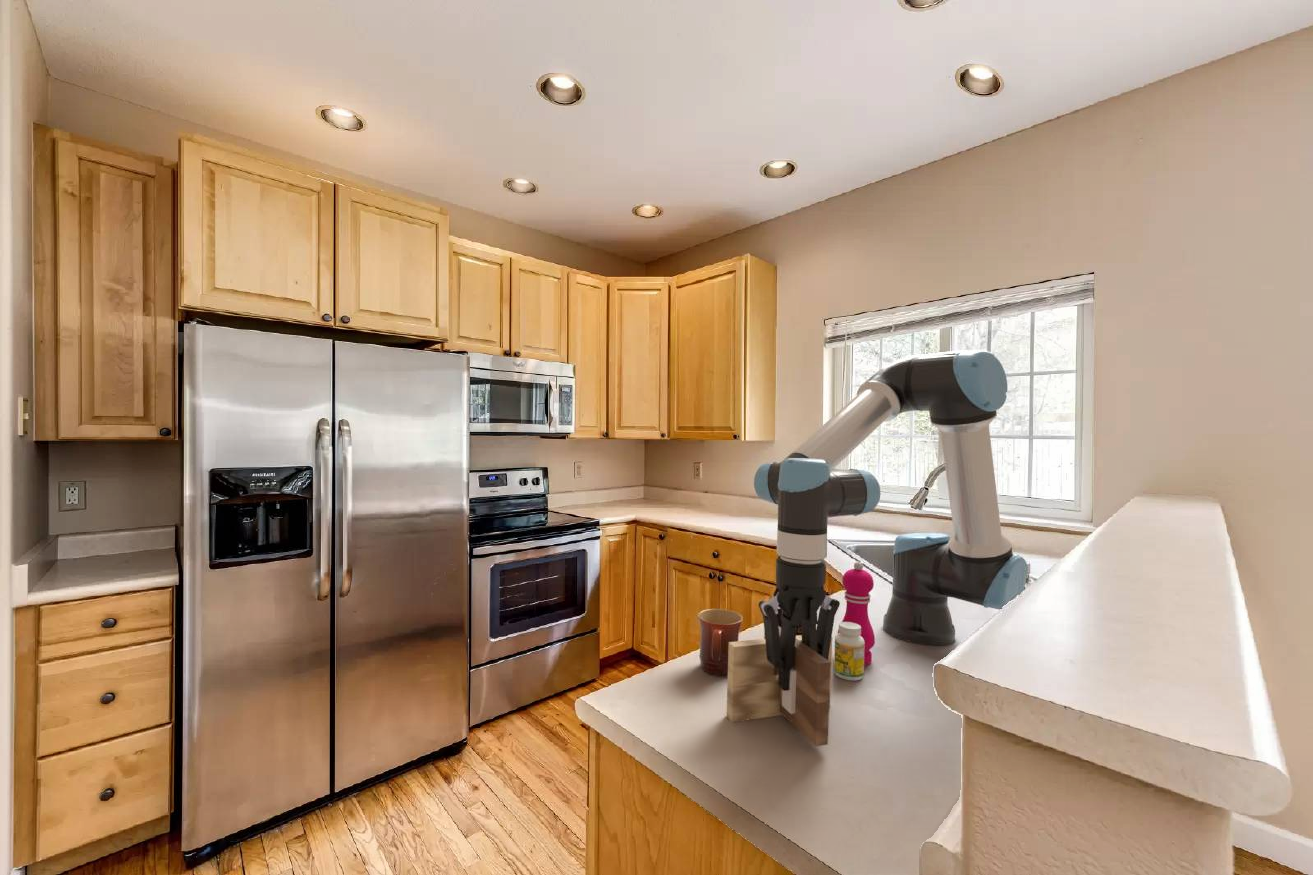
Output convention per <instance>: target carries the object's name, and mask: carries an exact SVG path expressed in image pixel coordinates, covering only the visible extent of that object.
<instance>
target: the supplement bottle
mask: <svg viewBox="0 0 1313 875" xmlns="http://www.w3.org/2000/svg"><path fill="white" fill-rule="evenodd" d="M838 629H839V632H840V633H838V632H837V633H836V634H835V637H834V657H833V658H834V662H833V666H834V667H833V671H834V672H833V673H834V675H835V676H837V677H838V678H841V679H842V680H847V681H851V682H853V681H854V682H855V681H860V680H862V679H863V678H864V673H865V665H864V648H865V642H864V639H863V638H862V637H861V636H860V634H861V626H860V625H858V624H856V623H852V622H842V621H841V622H839V623H838Z"/></svg>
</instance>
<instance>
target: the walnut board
mask: <svg viewBox="0 0 1313 875" xmlns="http://www.w3.org/2000/svg"><path fill="white" fill-rule="evenodd" d="M778 627H779V626H778ZM763 633H764V636H763V639H765V631H763ZM780 634H781V627H779V638H780ZM830 665H831V666H832V661H831V662H829V661H828V660H827V659H825V658H824V657H822V656H821V655H819V654H818V653H817V652H815V651H814V650H812V649H811V648H809V647H808V646H806V645H805V644H804V643H802V642H801V641H799V640H798V639H796V640H795V648H794V656H793V664H792V668H793V669H794V670H796V700H795V713H794V714H790V713H789V712H788V711H787V710H786V709H785V708H784V707H783V706H782V689H781V688H780V712H781V713H782V714H783V715H782V716H784V717H785V718H786V719H787V720H788V722H790V723H791V724H792V725H793V727H795V728H796V729H797V730H799V731H800V733H801V734H802V735H803V736H804V737H806V739H808V740H809V742H810V743H811V744H812V745H813V746H814V747H820V746H827V745H828V744H829V723H830V722H829V719H830V718H829V717H830V716H829V715H830V708H829V694H830V695H831V691H830ZM778 673H779V668H776V667H775V666H774V675H778Z"/></svg>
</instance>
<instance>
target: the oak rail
mask: <svg viewBox="0 0 1313 875" xmlns="http://www.w3.org/2000/svg"><path fill="white" fill-rule="evenodd" d="M796 639H798V640H799V641H801V642H802V635H797V636H796ZM832 657H833V636H832V637H831V644H830V650H829V657H828V661H829V662H831V663H832V660H833V658H832ZM778 678H779V677H778V675H774V666H773V665H772V664H771V663H770V662H769V661H768V660H767V652H766V642H765V639H764V638H758V639H749V640H738V641H736V642H729V650H728V675H727V686H726V687H727V690H726V694H727V696H726V717H727V718H728V719H729V721H730V722H731V723H735V722H743V721H742V720H744V721H748V720H747V719H751V720H756V719H757V720H758V719H764V718H769V717H770V718H771V717H778V716H784V715H783V714H782V713H781V712H780V687H779V685H778ZM831 683H832V664H831V665H830V692H831V687H832V686H831V685H832V684H831ZM830 708H831V693H830V694H829V709H830ZM777 715H778V716H777Z"/></svg>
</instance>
